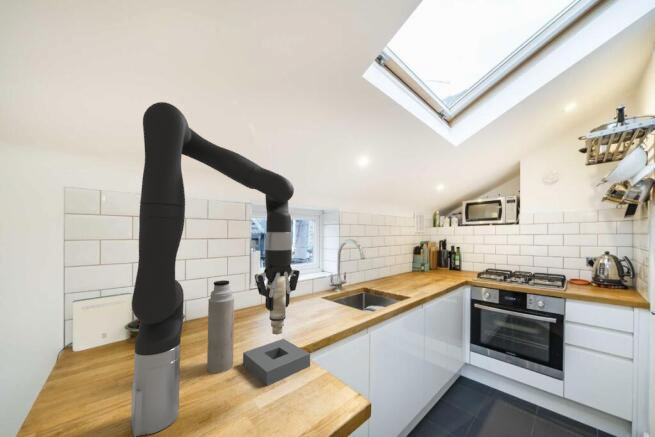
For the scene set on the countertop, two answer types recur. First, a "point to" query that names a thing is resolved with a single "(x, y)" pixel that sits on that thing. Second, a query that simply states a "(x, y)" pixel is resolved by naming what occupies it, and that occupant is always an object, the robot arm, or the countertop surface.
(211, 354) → the thermos bottle
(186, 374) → the countertop surface
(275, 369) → the gray board
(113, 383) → the countertop surface
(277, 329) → the ash peg
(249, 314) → the countertop surface
